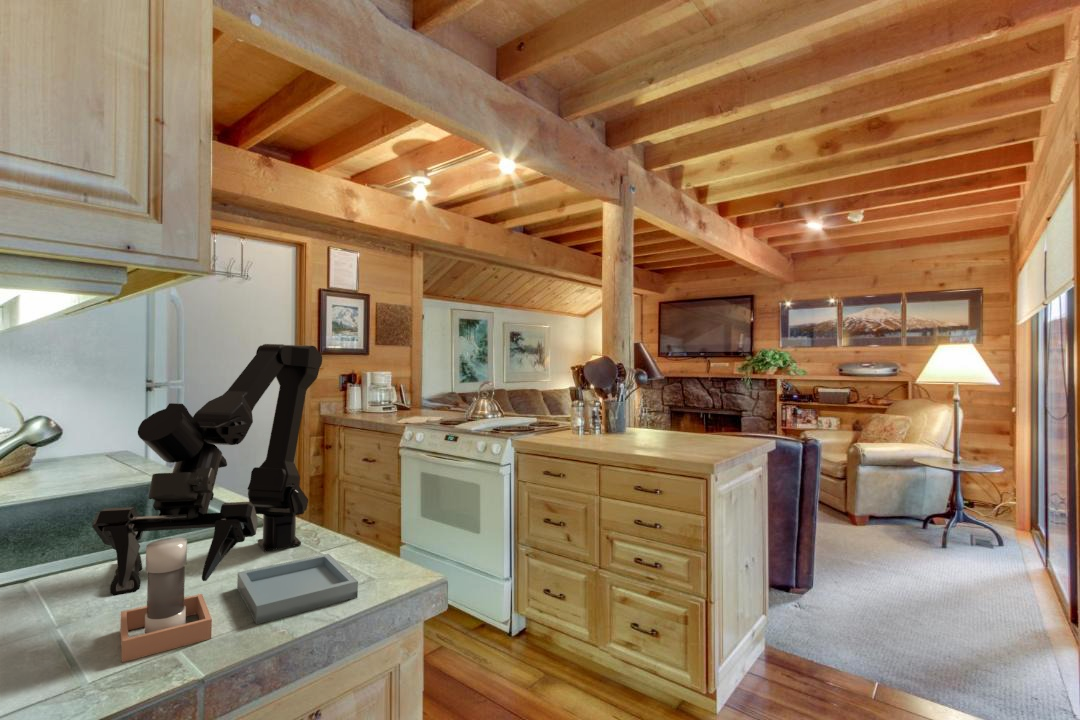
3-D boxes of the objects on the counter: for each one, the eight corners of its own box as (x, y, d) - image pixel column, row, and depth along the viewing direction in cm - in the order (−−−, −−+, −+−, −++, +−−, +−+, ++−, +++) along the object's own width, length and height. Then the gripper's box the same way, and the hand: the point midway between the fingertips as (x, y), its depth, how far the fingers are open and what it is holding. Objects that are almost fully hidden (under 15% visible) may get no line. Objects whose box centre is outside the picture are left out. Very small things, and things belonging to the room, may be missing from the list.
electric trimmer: (145, 561, 96) (145, 543, 96) (140, 593, 83) (140, 572, 83) (118, 565, 94) (119, 547, 94) (108, 598, 81) (109, 577, 81)
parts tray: (237, 588, 85) (237, 572, 85) (328, 567, 93) (328, 553, 93) (256, 624, 74) (256, 606, 74) (357, 597, 82) (357, 581, 82)
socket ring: (120, 630, 71) (120, 611, 71) (201, 611, 77) (202, 593, 77) (121, 662, 64) (122, 641, 64) (211, 638, 70) (211, 619, 70)
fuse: (143, 632, 71) (145, 542, 71) (183, 622, 74) (185, 535, 73) (145, 647, 67) (147, 552, 67) (187, 636, 70) (188, 545, 70)
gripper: (100, 449, 72) (50, 561, 61) (255, 445, 77) (233, 549, 67) (125, 493, 80) (85, 600, 69) (265, 487, 85) (247, 586, 74)
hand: (163, 583), depth 70 cm, fingers open, 9 cm apart
